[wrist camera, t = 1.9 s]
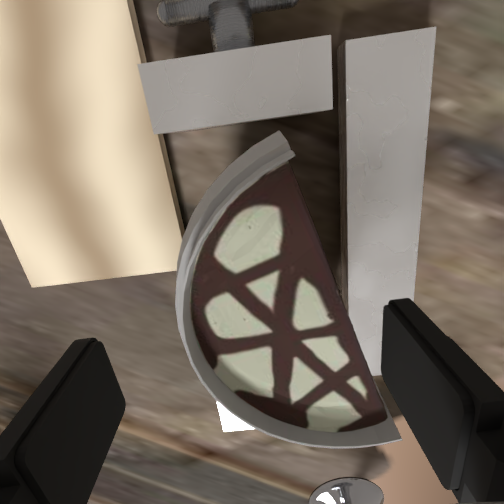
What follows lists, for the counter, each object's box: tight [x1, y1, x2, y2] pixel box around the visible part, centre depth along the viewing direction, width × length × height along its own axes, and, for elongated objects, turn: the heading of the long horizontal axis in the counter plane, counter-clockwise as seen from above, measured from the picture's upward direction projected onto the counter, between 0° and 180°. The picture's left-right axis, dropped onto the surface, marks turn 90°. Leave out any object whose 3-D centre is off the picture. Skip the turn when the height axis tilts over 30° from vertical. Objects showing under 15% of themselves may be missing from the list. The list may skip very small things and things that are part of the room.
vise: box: [137, 0, 436, 432], centre depth 16 cm, size 12×22×5 cm, turn 7°
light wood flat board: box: [0, 0, 185, 288], centre depth 16 cm, size 10×18×1 cm, turn 7°
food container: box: [175, 130, 402, 449], centre depth 15 cm, size 12×6×10 cm, turn 24°
